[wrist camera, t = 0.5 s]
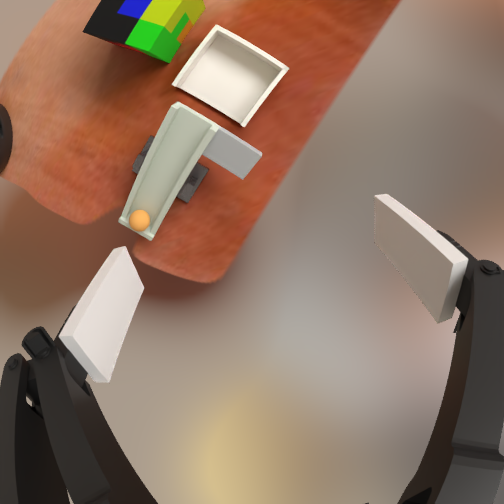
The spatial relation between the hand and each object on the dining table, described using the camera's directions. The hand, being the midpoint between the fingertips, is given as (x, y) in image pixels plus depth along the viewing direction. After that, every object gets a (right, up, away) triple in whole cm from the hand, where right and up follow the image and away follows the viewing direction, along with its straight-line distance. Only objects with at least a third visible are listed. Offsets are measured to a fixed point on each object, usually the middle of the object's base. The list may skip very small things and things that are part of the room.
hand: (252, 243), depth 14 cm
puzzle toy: (-13, +32, +14) cm, 37 cm away
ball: (-16, +4, +25) cm, 30 cm away
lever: (-9, +9, +23) cm, 26 cm away
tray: (-3, +23, +19) cm, 30 cm away
